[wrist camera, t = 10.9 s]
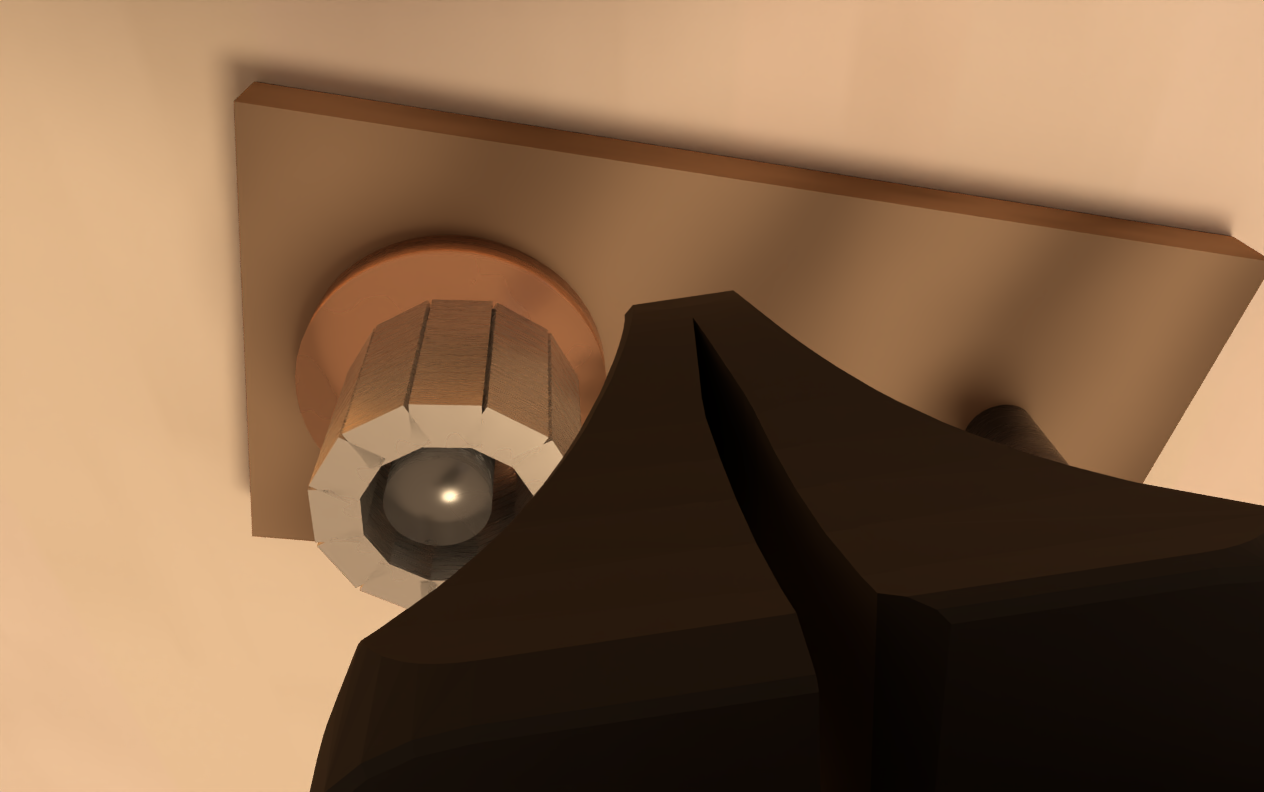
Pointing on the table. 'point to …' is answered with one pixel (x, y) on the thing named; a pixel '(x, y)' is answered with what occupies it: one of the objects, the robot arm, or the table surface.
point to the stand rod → (1014, 431)
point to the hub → (424, 270)
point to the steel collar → (438, 433)
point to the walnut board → (734, 270)
